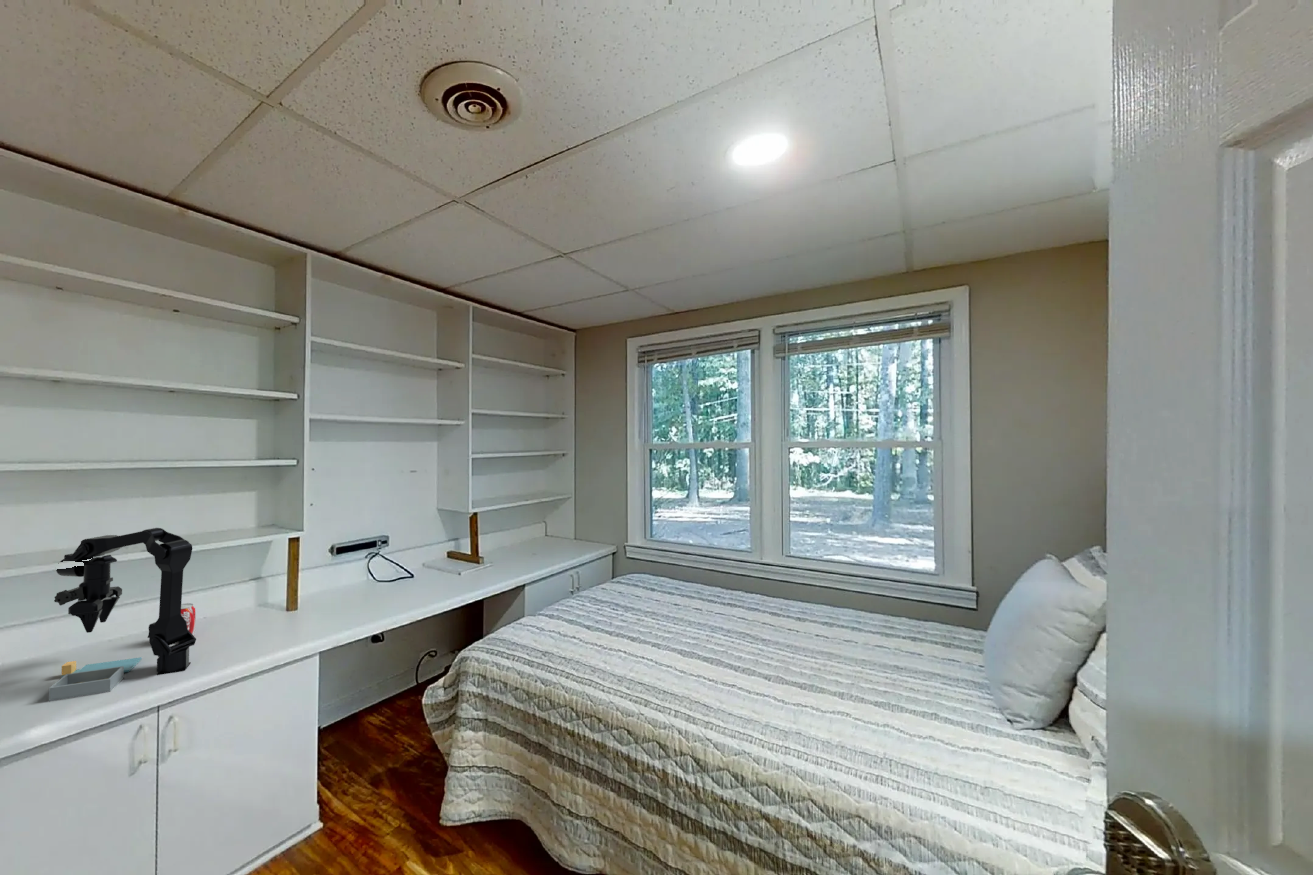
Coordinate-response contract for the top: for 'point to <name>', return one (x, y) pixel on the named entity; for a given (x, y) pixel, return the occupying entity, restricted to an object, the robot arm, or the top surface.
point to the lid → (100, 666)
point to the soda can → (189, 616)
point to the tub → (86, 683)
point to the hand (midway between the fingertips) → (96, 627)
